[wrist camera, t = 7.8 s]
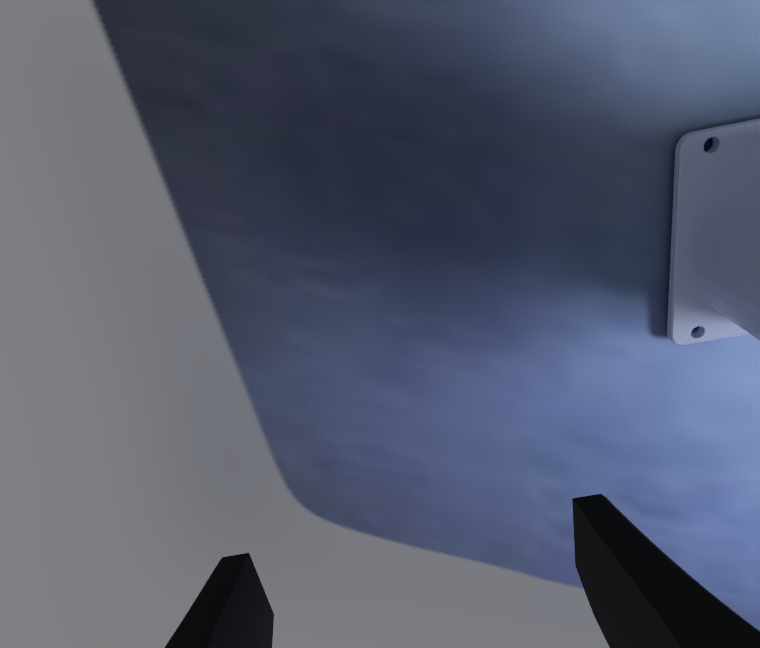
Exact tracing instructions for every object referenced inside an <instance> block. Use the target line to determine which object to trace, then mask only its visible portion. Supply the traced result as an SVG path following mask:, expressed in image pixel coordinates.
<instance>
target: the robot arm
mask: <svg viewBox="0 0 760 648" xmlns="http://www.w3.org/2000/svg"><path fill="white" fill-rule="evenodd" d="M709 138H712V139H713V144H712V147H711V148H710V149H709V150H708V151H706V152H705V151H704V143H705V142H706V141H707V139H709ZM697 326H699V329H698V330H697V331H696V332H695V333H693V334H691V332H692V330H693V329H694V328H695V327H697ZM747 334H751V335H753V336H754V337H756V338H757V339H759V340H760V118H758V119H753V120H748V121H743V122H738V123H733V124H727V125H722V126H717V127H712V128H707V129H702V130H696V131H691V132H689V133H686V134H685V135H683V136H682V137H681V138H680V140H679V141H678V143H677V145H676V150H675V170H674V192H673V214H672V235H671V257H670V278H669V300H668V322H667V335H668V338H669V339H670V340H671V341H672V342H673V343H674V344H677V345H687V344H693V343H699V342H705V341H711V340H717V339H723V338H729V337H735V336H741V335H747ZM573 521H574V542H575V564H576V568H577V571H578V574H579V576H580V579H581V582H582V585H583V587H584V590H585V593H586V595H587V598H588V600H589V603H590V606H591V608H592V611H593V614H594V616H595V618H596V620H597V622H598V624H599V626H600V628H601V630H602V632H603V634H604V636H605V639H606V640H607V643H608V645H609V647H610V648H760V631H759V630H757V629H756V628H755V627H753V626H752V625H751V624H749V623H748V622H747V621H745V620H744V619H743V618H741V617H740V616H739V615H737V614H736V613H735V612H734V611H732V610H731V609H730V608H729V607H727V606H726V605H725V604H724V603H722V602H721V601H720V600H719V599H717V598H716V597H715V596H714V595H712V594H711V593H710V592H709V591H707V590H706V589H705V588H704V587H703V586H701V585H700V584H699V583H698V582H697V581H695V580H694V579H693V578H692V577H691V576H690V575H688V574H687V573H686V572H685V571H684V570H683V569H682V568H680V567H679V566H678V565H677V564H676V563H675V562H674V561H672V560H671V559H670V558H669V557H668V556H667V555H666V554H664V553H663V552H662V551H661V550H660V549H659V548H658V547H657V546H656V545H655V544H653V543H652V542H651V541H650V540H649V539H648V538H647V537H646V536H645V535H644V534H643V533H642V532H641V531H640V530H639V529H637V528H636V527H635V526H634V525H633V524H632V523H631V522H630V521H629V520H628V519H627V518H626V517H625V516H624V515H623V514H622V513H621V512H620V511H619V510H618V509H617V508H616V507H615V506H614V505H613V504H612V503H611V502H610V501H609V500H608V499H607V498H606V497H605V496H603V495H602V494H597V495H591V496H585V497H579V498H574V499H573ZM273 619H274V614H273V611H272V609H271V606H270V604H269V601H268V599H267V596H266V594H265V591H264V589H263V587H262V584H261V582H260V579H259V577H258V574H257V572H256V569H255V567H254V564H253V562H252V559H251V557H250V555H249V553H246V554H240V555H234V556H228V557H223V558H222V559H221V560H220V562H219V563H218V565H217V566H216V568H215V569H214V571H213V573H212V574H211V576H210V577H209V579H208V581H207V582H206V584H205V585H204V587H203V589H202V590H201V592H200V593H199V595H198V597H197V598H196V600H195V602H194V603H193V605H192V606H191V608H190V609H189V611H188V613H187V614H186V616H185V617H184V619H183V621H182V622H181V624H180V625H179V627H178V628H177V630H176V631H175V633H174V634H173V636H172V637H171V639H170V640H169V642H168V643H167V645H166V647H165V648H272V636H273Z"/></svg>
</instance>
